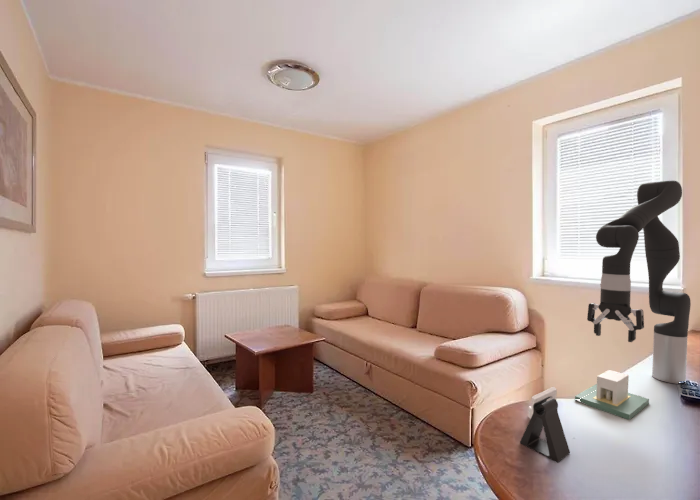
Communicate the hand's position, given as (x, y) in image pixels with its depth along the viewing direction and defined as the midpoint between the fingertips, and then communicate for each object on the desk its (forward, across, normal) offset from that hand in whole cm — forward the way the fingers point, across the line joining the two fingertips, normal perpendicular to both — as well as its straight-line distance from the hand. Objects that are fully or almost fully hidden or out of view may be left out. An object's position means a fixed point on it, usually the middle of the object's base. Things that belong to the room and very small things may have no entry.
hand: (613, 338), depth 108 cm
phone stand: (+20, 0, +45) cm, 49 cm away
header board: (+20, 0, +1) cm, 20 cm away
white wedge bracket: (+20, +7, +32) cm, 38 cm away
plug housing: (+19, 0, +1) cm, 19 cm away
